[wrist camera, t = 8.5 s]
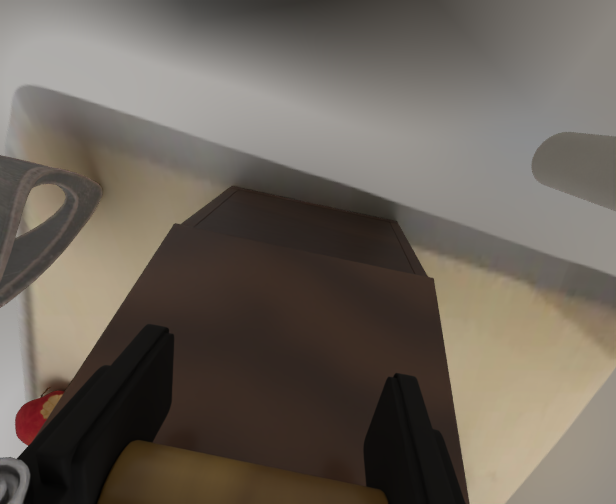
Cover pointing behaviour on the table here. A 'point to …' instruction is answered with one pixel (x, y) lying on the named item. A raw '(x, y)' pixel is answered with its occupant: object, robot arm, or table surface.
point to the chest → (308, 228)
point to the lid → (271, 372)
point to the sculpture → (47, 236)
